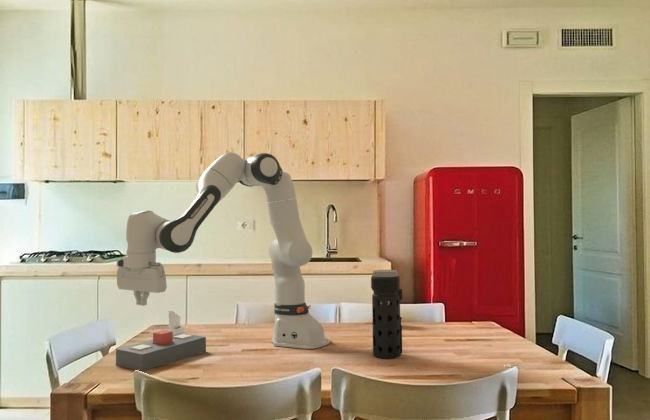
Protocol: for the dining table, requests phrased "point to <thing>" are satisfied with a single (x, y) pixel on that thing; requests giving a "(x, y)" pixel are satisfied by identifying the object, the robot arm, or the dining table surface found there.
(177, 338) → the white button right
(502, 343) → the dining table surface
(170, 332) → the red button
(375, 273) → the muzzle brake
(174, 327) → the white angled block
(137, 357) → the button console
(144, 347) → the white button left
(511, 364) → the paper
